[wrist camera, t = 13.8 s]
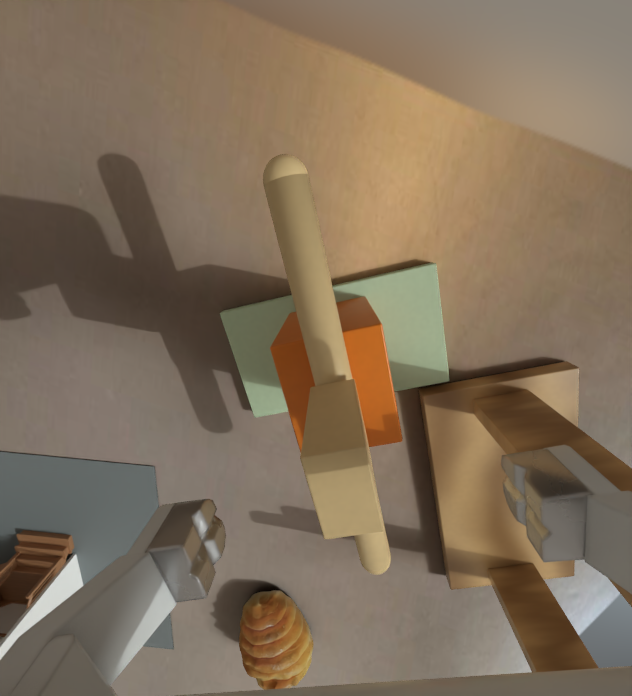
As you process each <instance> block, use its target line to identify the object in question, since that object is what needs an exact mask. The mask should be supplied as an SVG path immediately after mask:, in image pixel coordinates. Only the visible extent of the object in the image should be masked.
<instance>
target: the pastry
mask: <svg viewBox="0 0 632 696" xmlns="http://www.w3.org/2000/svg"><path fill="white" fill-rule="evenodd" d="M240 628H241V629H240V636H239V647H240V651H241V654H242V659H243V665H244V668H245V670H246V672H247V674H248V675H249V676H251V677H254V678H256V679H257V682H258V685H259V686H260V687H261V688H263V689H264V690H269V689H285V688H290V687H291V686H296V685H297V684H298V683H299V681H300V680H301V679H302V678H303V677H304V676H305V674H306V672H307V670H308V668H309V666H310V663H311V654H312V650H313V640H312V636H311V632H310V628H309V626H308V624H307V622H306V620H305V619H304V617H303V615H302V613H301V611H300V610H299V609H298V607H297V605H296V604H295V602H294V601H293V600H292V599H291V598H290V597H288V596H286V595H285V594H284V593H283V592H282V591H280V590H279V591H276V590H273V591H268V592H259V593H256V594H253V595H252V596H251V598H250V599H249V600H248V601H247V602H246V603H245V605H244V606H243V612H242V618H241V621H240Z"/></svg>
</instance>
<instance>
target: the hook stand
mask: <svg viewBox="0 0 632 696" xmlns="http://www.w3.org/2000/svg"><path fill="white" fill-rule="evenodd" d="M578 395H579V367H577V366H575V365H573V364H571V363H569V362H560V363H555V364H550V365H544V366H539V367H534V368H528V369H523V370H517V371H512V372H507V373H501V374H496V375H490V376H485V377H480V378H474V379H469V380H464V381H458V382H453V383H447V384H442V385H437V386H431V387H426V388H421V389H419V396H420V403H421V410H422V416H423V423H424V430H425V437H426V443H427V450H428V457H429V463H430V470H431V477H432V484H433V490H434V497H435V504H436V511H437V517H438V524H439V531H440V538H441V544H442V551H443V558H444V565H445V571H446V577H447V580H448V583H449V586H450V589H451V590H453V589H462V588H471V587H480V586H489V585H492V587H493V589H494V591H495V593H496V595H497V597H498V599H499V602H500V604H501V606H502V608H503V610H504V612H505V615H506V617H507V619H508V621H509V623H510V625H511V627H512V630H513V632H514V634H515V636H516V638H517V640H518V643H519V645H520V647H521V649H522V651H523V653H524V655H525V658H526V660H527V662H528V664H529V666H530V668H531V671H532V672H547V671H563V670H579V669H594V668H598V666H597V665H596V663H595V662H594V660H593V658H592V657H591V655H590V653H589V652H588V650H587V649H586V647H585V646H584V644H583V642H582V641H581V639H580V637H579V636H578V634H577V632H576V631H575V629H574V628H573V626H572V624H571V623H570V621H569V620H568V618H567V616H566V615H565V613H564V612H563V610H562V608H561V607H560V605H559V604H558V602H557V600H556V599H555V597H554V596H553V594H552V592H551V591H550V589H549V588H548V586H547V584H546V583H545V581H544V580H543V579H551V578H560V577H569V576H574V563H575V560H570V561H556V562H543V561H542V559H541V558H540V556H539V555H538V553H537V551H536V550H535V548H534V547H533V545H532V544H531V542H530V541H529V539H528V538H527V531H526V526H525V525H523V524H521V523H520V522H518V521H517V520H516V519H515V517H514V516H513V514H512V512H511V511H510V508H509V506H508V504H507V502H506V498H505V495H504V491H503V480H504V479H505V478H506V476H507V475H506V473H505V472H504V470H503V469H502V466H501V459H502V455H506V454H512V453H519V452H525V451H532V450H538V449H544V448H548V447H554V446H560V445H567V446H569V447H571V448H572V449H573V450H574V451H576V452H577V453H578V454H579V455H580V456H581V457H582V458H584V459H585V460H586V461H587V462H588V463H589V464H590V465H592V466H593V467H594V468H595V469H596V470H597V471H598V472H600V473H601V474H602V475H603V476H604V477H605V478H606V479H608V480H609V481H610V482H611V483H612V484H613V485H614V486H616V487H617V488H618V489H619V490H620V491H631V492H632V468H630V467H629V466H628V465H626V464H625V463H624V462H622V461H621V460H620V459H618V458H617V457H616V456H615V455H613V454H612V453H611V452H609V451H608V450H607V449H605V448H604V447H603V446H601V445H600V444H599V443H597V442H596V441H595V440H594V439H592V438H591V437H590V436H588V435H587V434H586V433H584V432H583V431H582V430H580V429H579V428H578ZM608 579H609V578H608ZM609 580H610V581H611V582H612V583H613V585H614V586H615V587H616V588H617V590H618V591H619V592H620V593H621V594H622V596H623V597H624V598H625V599H626V601H627V602H628V603H629V604H630V605H631V607H632V594H631V593H629V592H628V591H626V590H625V589H623V588H622V587H621V586H619V585H618V584H616V583H615V582H613V581H612V580H611V579H609Z"/></svg>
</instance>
